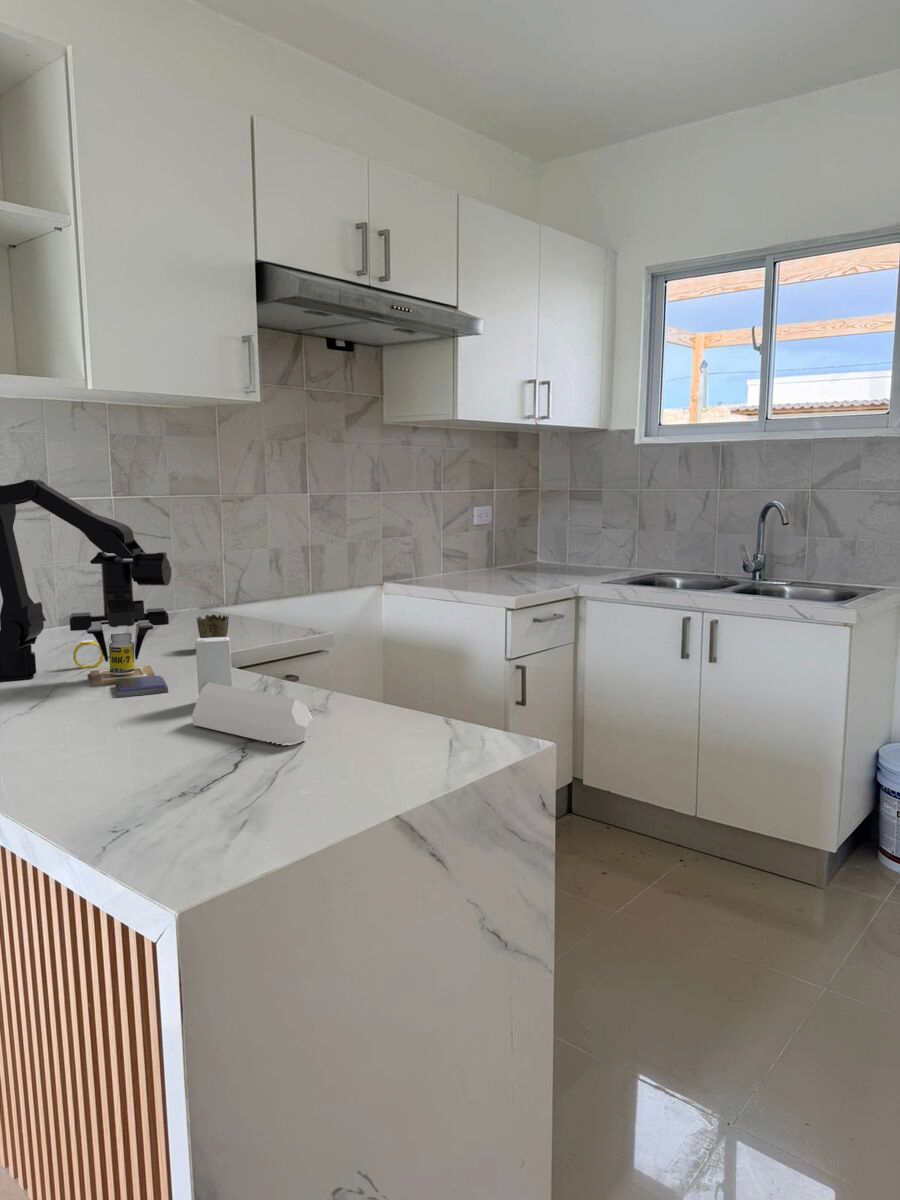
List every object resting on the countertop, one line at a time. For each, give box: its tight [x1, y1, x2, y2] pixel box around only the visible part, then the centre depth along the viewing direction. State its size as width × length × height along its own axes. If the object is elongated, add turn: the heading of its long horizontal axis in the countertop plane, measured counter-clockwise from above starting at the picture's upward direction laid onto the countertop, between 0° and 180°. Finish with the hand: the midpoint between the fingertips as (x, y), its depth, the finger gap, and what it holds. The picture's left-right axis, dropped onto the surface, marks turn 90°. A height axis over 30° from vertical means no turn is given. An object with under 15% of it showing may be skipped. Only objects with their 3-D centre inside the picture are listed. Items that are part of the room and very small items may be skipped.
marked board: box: [89, 665, 156, 687], centre depth 173 cm, size 12×12×1 cm
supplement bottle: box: [108, 632, 135, 675], centre depth 173 cm, size 5×5×8 cm
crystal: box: [191, 682, 314, 745], centre depth 136 cm, size 7×7×24 cm
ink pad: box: [114, 675, 169, 698], centre depth 163 cm, size 9×9×2 cm
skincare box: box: [194, 636, 234, 696], centre depth 152 cm, size 6×4×12 cm
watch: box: [72, 639, 104, 669], centre depth 182 cm, size 6×3×6 cm, turn 122°
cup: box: [196, 614, 230, 638], centre depth 201 cm, size 8×7×8 cm
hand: (121, 660), depth 173 cm, fingers open, 5 cm apart
